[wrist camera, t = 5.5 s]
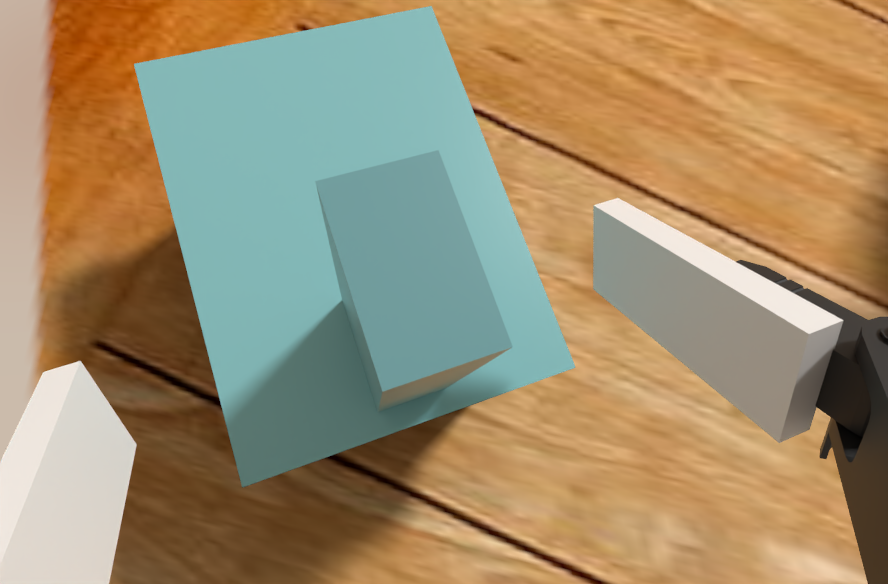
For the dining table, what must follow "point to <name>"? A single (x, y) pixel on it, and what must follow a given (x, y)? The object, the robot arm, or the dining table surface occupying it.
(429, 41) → the lid
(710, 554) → the dining table surface
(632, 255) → the robot arm
